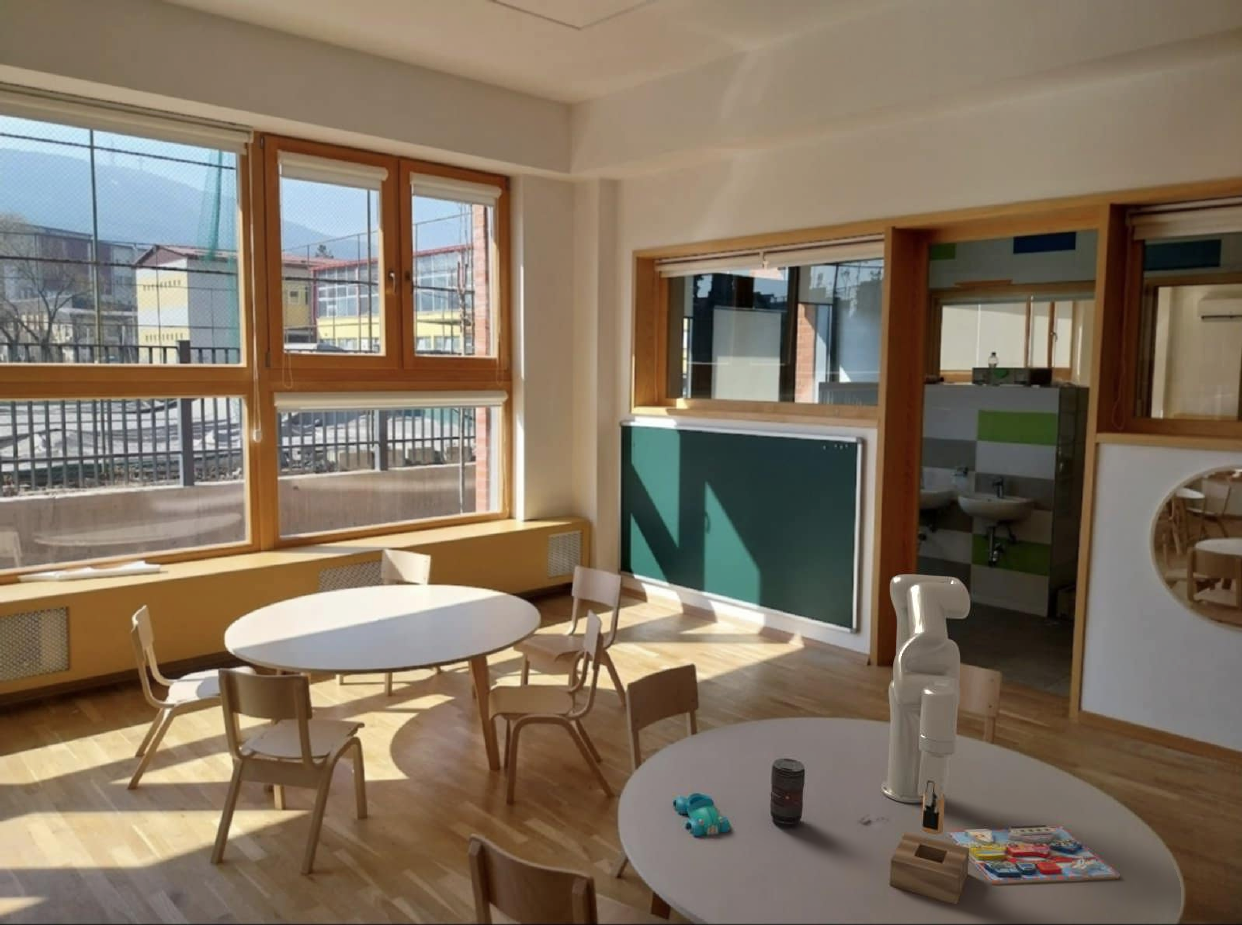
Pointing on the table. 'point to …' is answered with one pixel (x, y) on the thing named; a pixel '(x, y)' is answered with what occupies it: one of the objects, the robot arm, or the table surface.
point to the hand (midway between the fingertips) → (932, 822)
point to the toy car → (701, 815)
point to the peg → (941, 816)
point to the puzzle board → (1031, 855)
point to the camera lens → (787, 792)
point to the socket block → (929, 867)
